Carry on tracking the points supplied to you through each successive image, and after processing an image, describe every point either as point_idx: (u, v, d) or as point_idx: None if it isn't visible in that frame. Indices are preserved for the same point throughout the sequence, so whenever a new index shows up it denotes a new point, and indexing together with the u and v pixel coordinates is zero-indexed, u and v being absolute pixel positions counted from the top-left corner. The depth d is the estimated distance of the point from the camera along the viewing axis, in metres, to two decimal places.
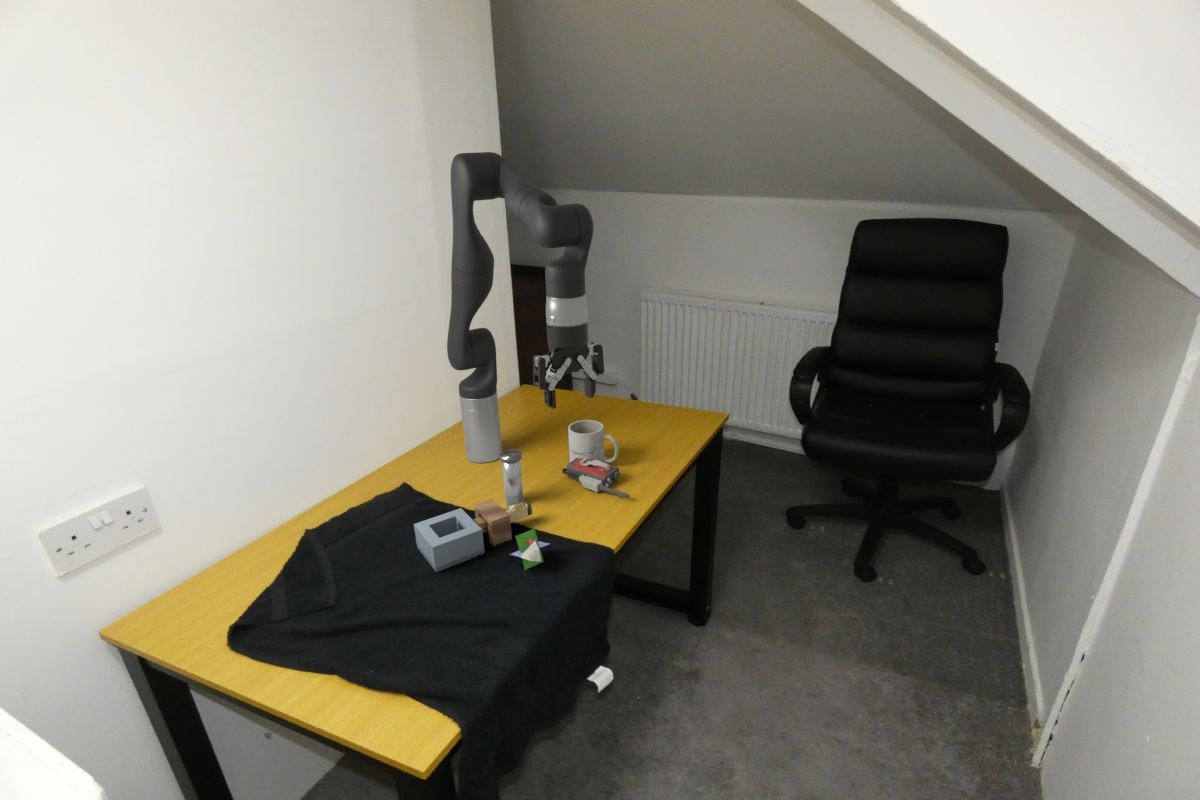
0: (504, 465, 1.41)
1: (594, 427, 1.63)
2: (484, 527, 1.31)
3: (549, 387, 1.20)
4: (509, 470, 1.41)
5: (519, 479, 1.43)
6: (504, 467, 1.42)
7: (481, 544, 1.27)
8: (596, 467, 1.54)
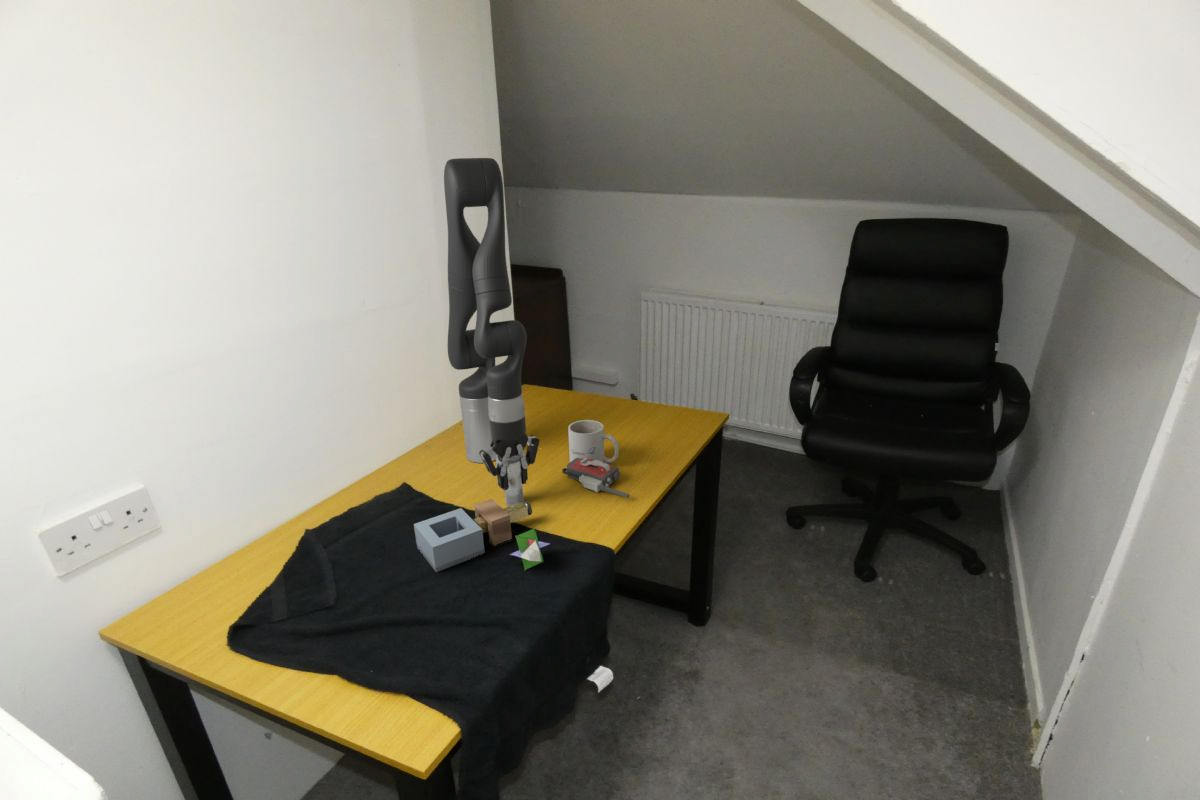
0: None
1: (594, 427, 1.63)
2: (484, 527, 1.31)
3: (501, 474, 1.41)
4: (509, 470, 1.41)
5: (519, 479, 1.43)
6: None
7: (481, 544, 1.27)
8: (596, 467, 1.54)
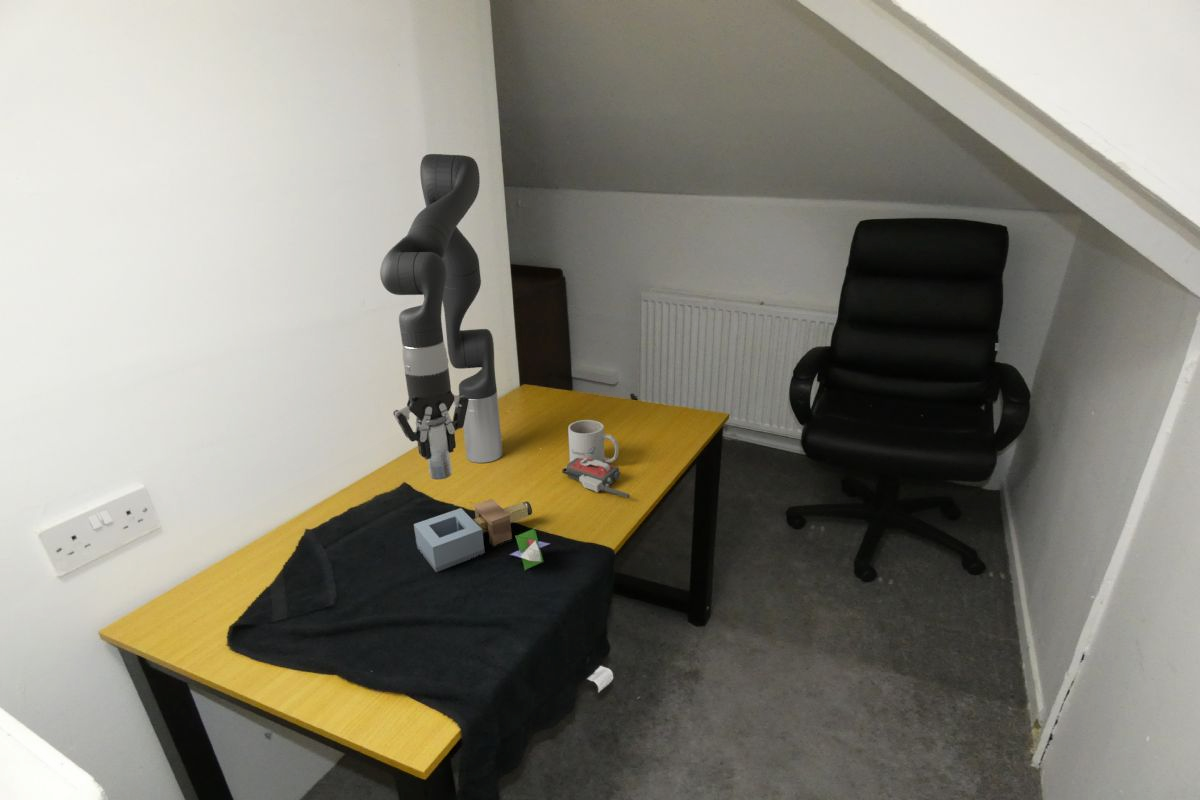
0: None
1: (594, 427, 1.63)
2: (484, 527, 1.31)
3: (421, 439, 1.18)
4: (431, 435, 1.18)
5: (444, 447, 1.20)
6: None
7: (481, 544, 1.27)
8: (596, 467, 1.54)
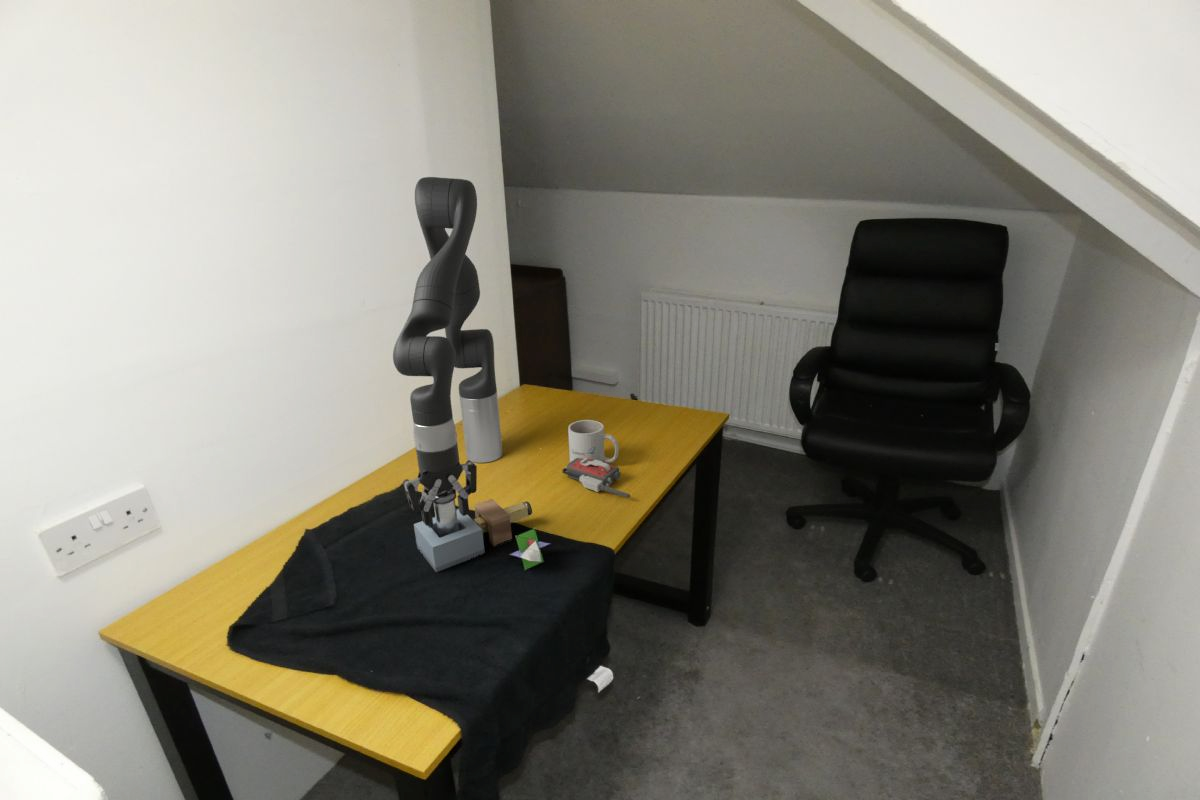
0: (435, 505, 1.24)
1: (594, 427, 1.63)
2: (484, 527, 1.31)
3: (424, 509, 1.22)
4: (441, 511, 1.24)
5: (453, 522, 1.26)
6: (435, 508, 1.25)
7: (481, 544, 1.27)
8: (596, 467, 1.54)
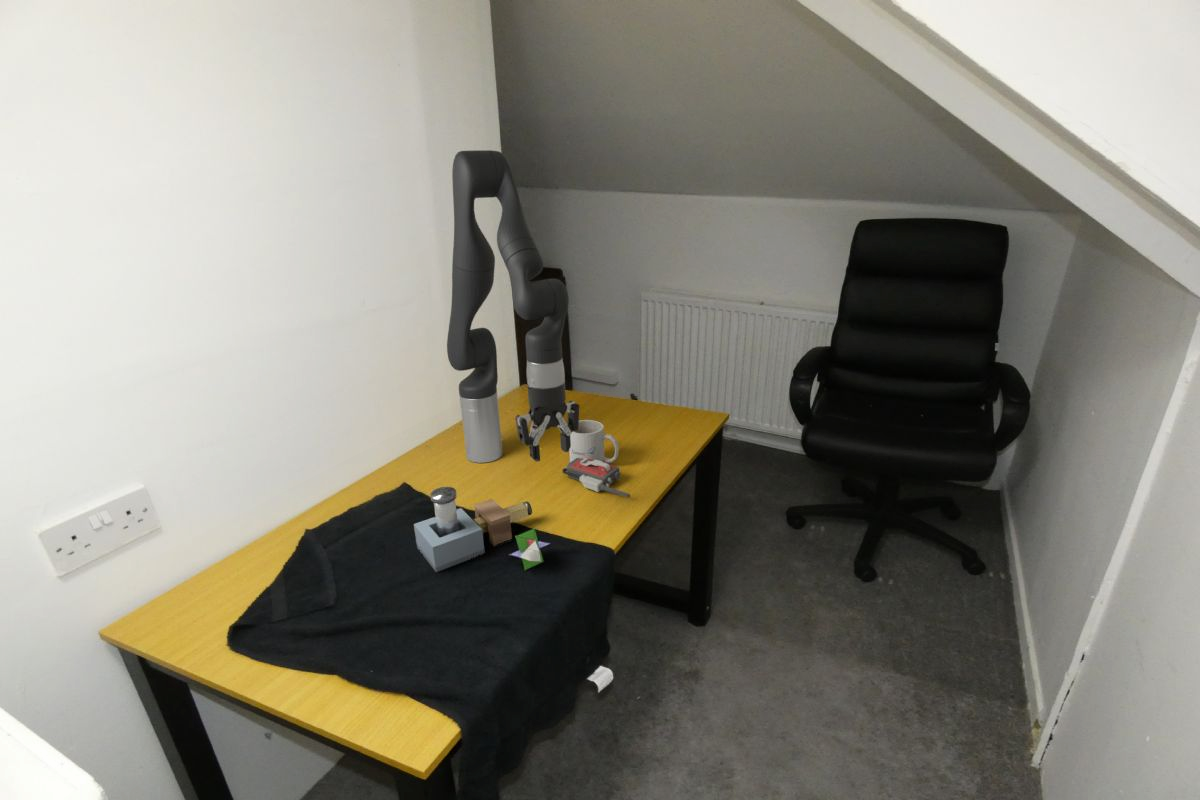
0: (435, 505, 1.24)
1: (594, 427, 1.63)
2: (484, 527, 1.31)
3: (533, 443, 1.32)
4: (442, 512, 1.24)
5: (453, 522, 1.26)
6: (436, 508, 1.25)
7: (481, 544, 1.27)
8: (596, 467, 1.54)
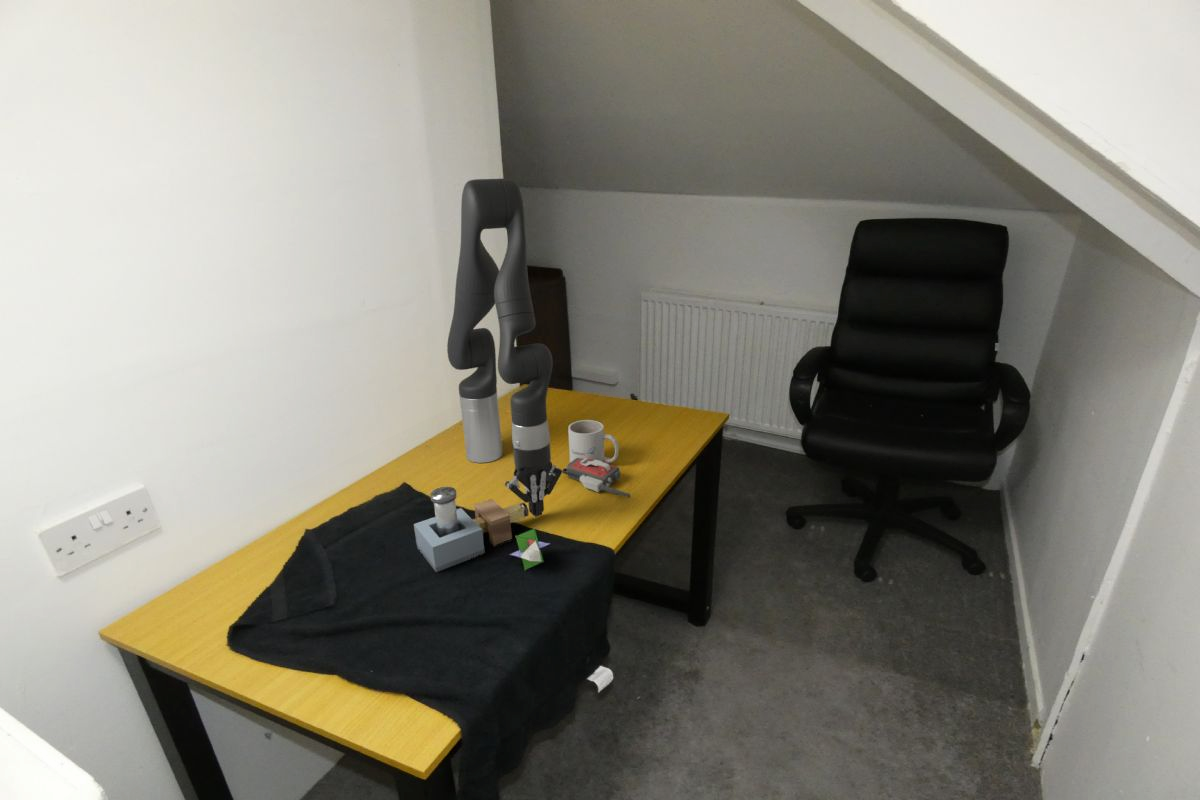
0: (435, 505, 1.24)
1: (594, 427, 1.63)
2: None
3: (533, 501, 1.36)
4: (441, 512, 1.24)
5: (453, 522, 1.26)
6: (436, 508, 1.25)
7: (481, 544, 1.27)
8: (596, 467, 1.54)
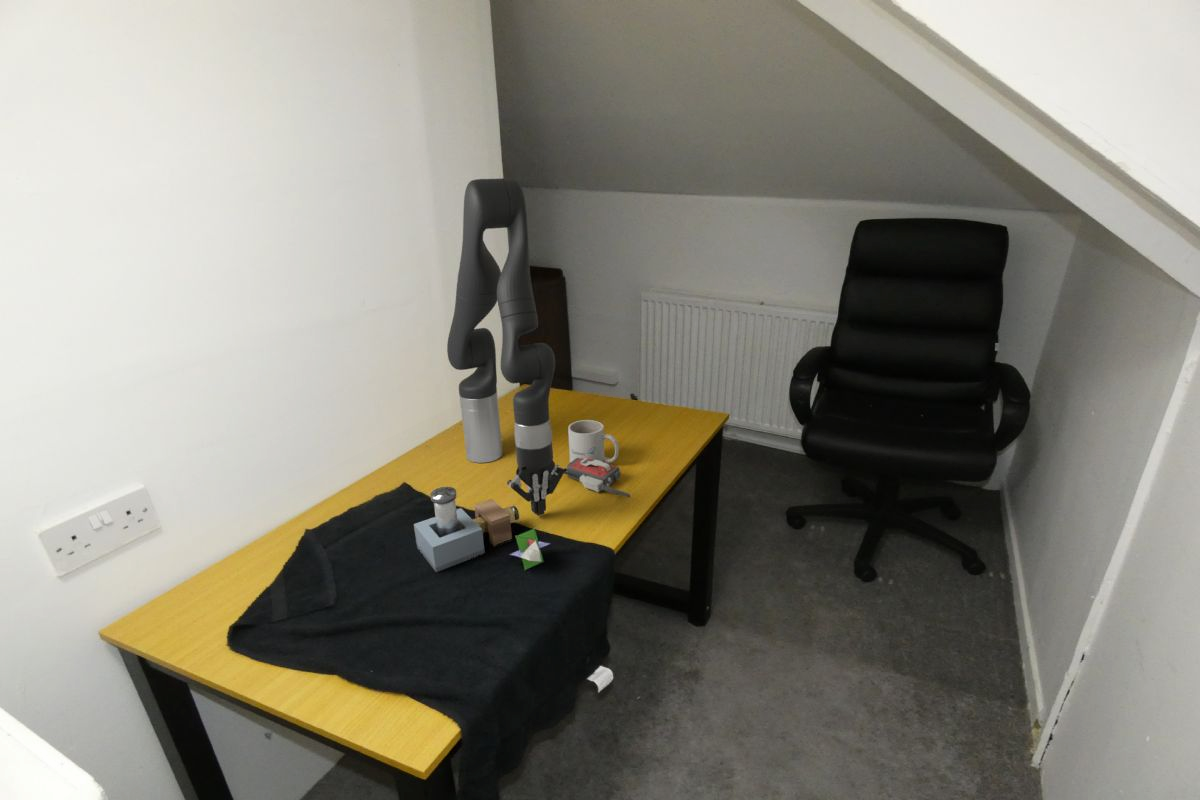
0: (435, 505, 1.24)
1: (594, 427, 1.63)
2: None
3: (535, 500, 1.37)
4: (441, 512, 1.24)
5: (453, 522, 1.26)
6: (436, 508, 1.25)
7: (481, 544, 1.27)
8: (596, 467, 1.54)
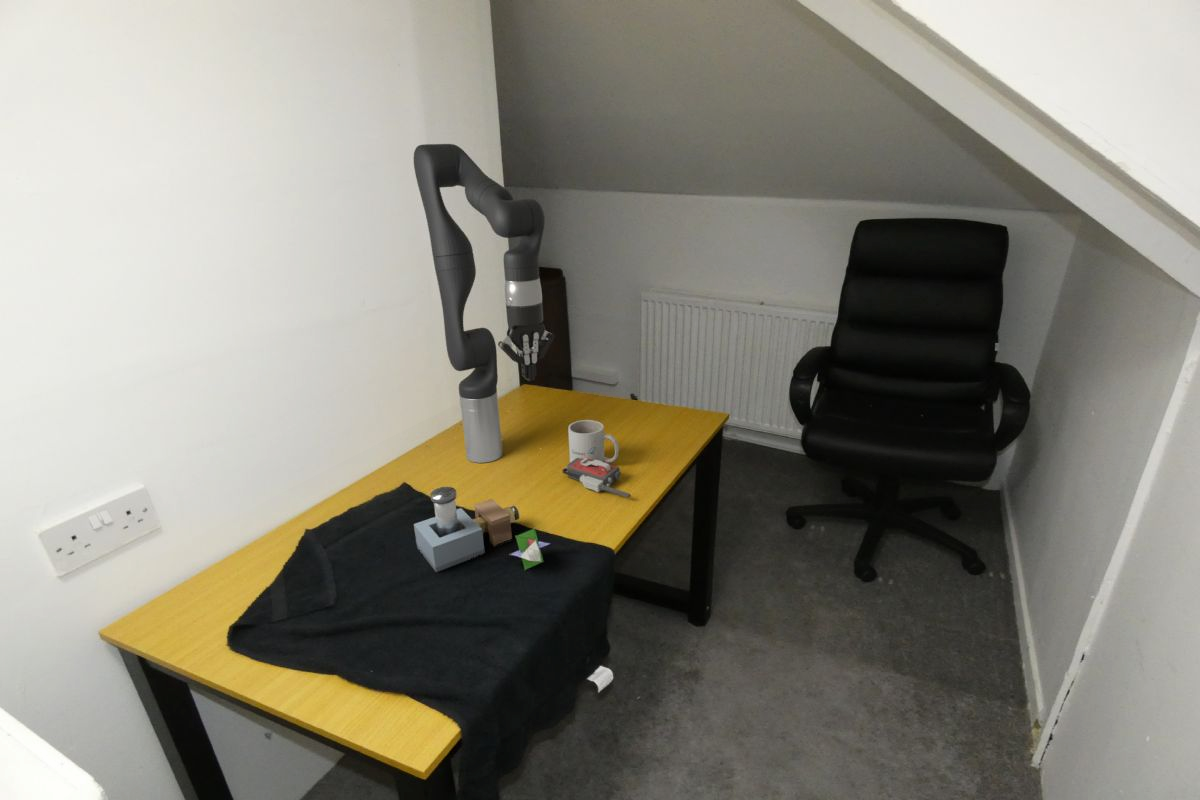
0: (435, 505, 1.24)
1: (594, 427, 1.63)
2: None
3: (526, 363, 1.39)
4: (441, 512, 1.24)
5: (453, 522, 1.26)
6: (436, 508, 1.25)
7: (481, 544, 1.27)
8: (597, 467, 1.54)
